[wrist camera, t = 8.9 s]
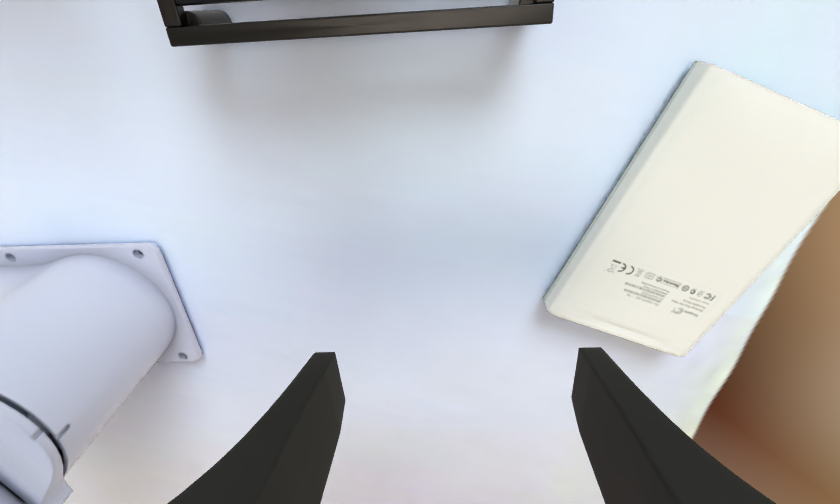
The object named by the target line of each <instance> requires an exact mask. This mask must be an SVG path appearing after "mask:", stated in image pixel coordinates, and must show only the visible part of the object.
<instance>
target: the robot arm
mask: <svg viewBox="0 0 840 504" xmlns="http://www.w3.org/2000/svg"><path fill="white" fill-rule="evenodd" d="M138 250H139V251H141V252H142V253H143V255H142V254H140V253H139V252H138ZM201 356H202V351H201V349H200V346H199V344H198V341H197V339H196V336H195V334H194V331H193V329H192V326H191V324H190V322H189V319H188V317H187V314H186V312H185V309H184V307H183V304H182V302H181V299H180V297H179V295H178V292H177V290H176V287H175V285H174V282H173V280H172V277H171V275H170V272H169V270H168V268H167V265H166V263H165V260H164V258H163V255H162V253H161V250H160V249H159V247H158V246H157V245H155V244H153V243H150V242H138V243H105V244H72V245H38V246H5V247H0V504H63V503H64V502H65V501H66V499H67V498H68V497H69V495H70V494H71V493H72V491H73V490H72V488H71V487H70V486H69V485H68V484H67V483H66V481H65V480H64V476H65V475H66V473H67V472H68V471H69V470H70V468H71V467H72V466H73V465H74V463H75V462H76V461H77V460H78V458H79V457H80V456H81V455H82V453H83V452H84V451H85V450H86V448H87V447H88V446H89V445H90V443H91V442H92V441H93V440H94V438H95V437H96V436H97V435H98V433H99V432H100V431H101V430H102V428H103V427H104V426H105V425H106V423H107V422H108V421H109V420H110V418H111V417H112V416H113V415H114V413H115V412H116V411H117V410H118V408H119V407H120V406H121V405H122V403H123V402H124V401H125V400H126V398H127V397H128V396H129V395H130V393H131V392H132V391H133V390H134V388H135V387H136V386H137V385H138V383H139V382H140V381H141V380H142V378H143V377H144V376H145V375H146V373H147V372H148V371H149V370H150V368H151V367H152V366H153V365H154V363H155V362H196V361H198V360H199V359H200V358H201ZM571 398H572V402H573V407H574V411H575V416H576V420H577V424H578V428H579V432H580V435H581V438H582V440H583V443H584V446H585V449H586V452H587V454H588V457H589V460H590V463H591V465H592V468H593V471H594V474H595V476H596V479H597V482H598V485H599V487H600V490H601V493H602V496H603V498H604V501H605V504H776V503H774V502H773V501H771V500H770V499H769V498H767V497H766V496H764V495H763V494H762V493H760V492H759V491H757V490H756V489H755V488H753V487H752V486H750V485H749V484H748V483H746V482H745V481H743V480H742V479H740V478H739V477H738V476H737V475H735V474H734V473H733V472H731V471H730V470H729V469H727V468H726V467H725V466H723V465H722V464H721V463H720V462H718V461H717V460H716V459H715V458H714V457H712V456H711V455H710V454H709V453H707V452H706V451H705V450H704V449H703V448H701V447H700V446H699V445H698V444H696V443H695V442H694V441H693V440H692V439H691V438H690V437H689V436H687V435H686V434H685V433H684V432H683V431H682V430H681V429H680V428H679V427H678V426H677V425H675V424H674V423H673V422H672V421H671V420H670V419H669V418H668V417H667V416H666V415H665V414H664V413H663V412H662V411H661V410H660V409H659V408H658V407H657V406H656V405H655V404H654V403H653V402H652V401H651V400H650V399H649V398H648V397H647V396H646V395H645V394H644V393H643V392H642V391H641V390H640V389H639V388H638V387H637V386H636V385H635V384H634V383H633V382H632V381H631V380H630V379H629V377H628V376H627V375H626V374H625V373H624V372H623V371H622V370H621V369H620V368H619V367H618V365H617V364H616V363H615V362H614V361H613V360H612V359H611V358H610V357H609V355H608V354H607V353H606V352H605V351H604V350H603V349H602V348H601V347H597V348H579V352H578V358H577V365H576V371H575V378H574V384H573V391H572V397H571ZM344 405H345V396H344V391H343V387H342V382H341V378H340V373H339V369H338V364H337V359H336V355H335V352H319V353H314V354H313V355H312V357H311V358H310V359H309V360H308V362H307V363H306V364H305V366H304V367H303V368H302V369H301V371H300V372H299V373H298V375H297V376H296V377H295V378H294V380H293V381H292V382H291V383H290V385H289V386H288V387H287V388H286V390H285V391H284V392H283V393H282V394H281V396H280V397H279V398H278V399H277V400H276V402H275V403H274V404H273V405H272V406H271V407H270V409H269V410H268V411H267V412H266V413H265V414H264V415H263V416H262V418H261V419H260V420H259V421H258V422H257V423H256V424H255V425H254V426H253V427H252V428H251V430H250V431H249V432H248V433H247V434H246V435H245V436H244V437H243V438H242V439H241V440H240V441H239V442H238V443H237V444H236V445H235V446H234V447H233V448H232V449H231V450H230V451H229V452H228V453H227V454H226V455H225V456H224V457H222V458H221V459H220V460H219V461H218V462H217V463H216V464H215V465H214V466H213V467H211V468H210V469H209V470H208V471H207V472H206V473H205V474H203V475H202V476H201V477H200V478H199V479H198V480H196V481H195V482H194V483H193V484H192V485H190V486H189V487H188V488H187V489H186V490H184V491H183V492H182V493H181V494H179V495H178V496H177V497H176V498H174V499H173V500H172V501H170V502H169V503H168V504H320V503H321V499H322V496H323V492H324V488H325V485H326V481H327V478H328V474H329V471H330V467H331V464H332V460H333V457H334V453H335V450H336V446H337V442H338V439H339V435H340V430H341V424H342V418H343V412H344Z"/></svg>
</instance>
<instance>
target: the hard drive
mask: <svg viewBox="0 0 840 504" xmlns="http://www.w3.org/2000/svg"><path fill="white" fill-rule="evenodd" d="M839 190H840V121H839V120H837V119H835V118H832V117H830V116H828V115H826V114H824V113H821V112H819V111H817V110H815V109H812V108H810V107H808V106H806V105H803V104H801V103H799V102H796V101H794V100H792V99H790V98H788V97H786V96H783V95H781V94H779V93H777V92H774V91H772V90H770V89H767V88H766V87H764V86H761V85H759V84H756V83H754V82H752V81H750V80H747V79H745V78H743V77H741V76H738V75H736V74H734V73H732V72H729V71H727V70H724V69H722V68H720V67H718V66H716V65H714V64H709V63H705V62H701V61H695V62H694V63H693V65H692V66H691V68H690V69H689V71H688V73H687V74H686V76H685V77H684V79H683V80H682V82H681V83H680V85H679V87H678V88H677V90H676V91H675V93H674V94H673V96H672V98H671V99H670V101H669V102H668V104H667V105H666V107H665V109H664V110H663V112H662V113H661V115H660V116H659V118H658V119H657V121H656V122H655V124H654V126H653V127H652V129H651V131H650V132H649V134H648V135H647V137H646V138H645V140H644V142H643V143H642V145H641V146H640V148H639V149H638V151H637V152H636V154H635V155H634V157H633V159H632V160H631V162H630V163H629V165H628V166H627V168H626V169H625V171H624V173H623V174H622V176H621V178H620V179H619V181H618V182H617V184H616V185H615V187H614V188H613V190H612V192H611V193H610V195H609V196H608V198H607V200H606V201H605V203H604V204H603V205H602V207H601V209H600V210H599V212H598V213H597V215H596V217H595V218H594V220H593V221H592V223H591V225H590V226H589V227H588V229H587V231H586V232H585V234H584V235H583V237H582V239H581V240H580V242H579V243H578V245H577V246H576V248H575V250H574V251H573V253H572V254H571V256H570V257H569V259H568V260H567V262H566V264H565V265H564V267H563V268H562V270H561V272H560V273H559V275H558V276H557V278H556V279H555V281H554V283H553V284H552V285H551V287H550V288H549V290H548V292H547V293H546V295H545V296H544V298H543V300H544V302H545V306H546V309H547V311H548V312H549V313H551V314H553V315H555V316H557V317H560V318H563V319H566V320H569V321H572V322H575V323H578V324H581V325H585V326H588V327H591V328H594V329H597V330H600V331H603V332H606V333H609V334H612V335H615V336H618V337H620V338H624V339H626V340H630V341H633V342H636V343H639V344H642V345H645V346H648V347H651V348H654V349H657V350H660V351H663V352H665V353H669V354H672V355H674V356H679V357H684V356H685V355H686V354H687V353H688V352H689V351H690V350H691V349H692V348H693V347H694V346H695V344H696V343H697V342H698V341H699V340H700V339H701V338H702V337H703V335H704V334H705V333H706V332H707V331H708V330H709V329H710V328H711V327H712V326H713V325H714V324H715V323H716V322H717V321H718V320H719V319H720V318H721V317H722V316H723V314H724V313H725V312H726V311H727V310H728V309H729V308H730V307H731V306H732V305H733V304H734V303H735V302H736V301H737V300H738V298H739V297H740V296H741V295H742V294H743V293H744V292H745V291H746V290H747V289H748V288H749V287H750V286H751V284H752V283H753V282H754V281H755V280H756V279H757V278H758V277H759V276H760V275H761V274H762V273H763V272H764V271H765V270H766V269H767V267H768V266H769V265H770V264H771V263H772V262H773V261H774V260H775V259H776V258H777V257H778V256H779V255H780V254H781V253H782V251H783V250H784V249H785V248H786V247H787V246H788V245H789V244H790V243H791V242H792V241H793V240H794V239H795V238H796V236H797V235H798V234H799V233H800V232H801V231H802V230H803V229H804V228H805V227H806V226H807V225H808V224H809V223H810V222H811V221H812V220H813V218H814V217H815V216H816V215H817V214H818V213H819V212H820V211H821V210H822V209H823V208H824V206H825V205H826V204H827V203H828V202H829V201H830V200H831V199H832V198H833V197H834V196H835V195H836V194H837V192H838V191H839Z"/></svg>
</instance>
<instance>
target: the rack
mask: <svg viewBox="0 0 840 504" xmlns="http://www.w3.org/2000/svg"><path fill="white" fill-rule="evenodd" d="M246 1H261V0H157V2H158V5H159V8H160V12H161V15H162V18H163V21H164V25H165V27H167V28H166V31H167V34H168V37H169V40H170V44H171V46H173V47H177V46H193V45H210V44H226V43H242V42H259V41H275V40H291V39H308V38H324V37H341V36H357V35H373V34H390V33H406V32H422V31H439V30H455V29H472V28H488V27H504V26H521V25H537V24H551V23H552V20H553V9H554V4H553V3H552V2H554V0H510V1H509V5H505V6H489V7H474V8H458V9H442V10H427V11H411V12H396V13H380V14H365V15H349V16H334V17H318V18H302V19H287V20H271V21H256V22H240V23H231V20H230V18H229V16H228V15H227V14H226V13H225V12H223V11H220V10H204V11H184V8H183V6H187V5H201V4H216V3H231V2H246Z"/></svg>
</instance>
